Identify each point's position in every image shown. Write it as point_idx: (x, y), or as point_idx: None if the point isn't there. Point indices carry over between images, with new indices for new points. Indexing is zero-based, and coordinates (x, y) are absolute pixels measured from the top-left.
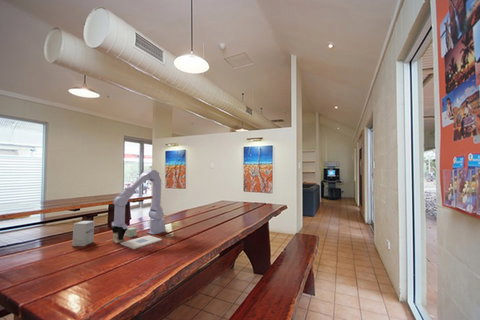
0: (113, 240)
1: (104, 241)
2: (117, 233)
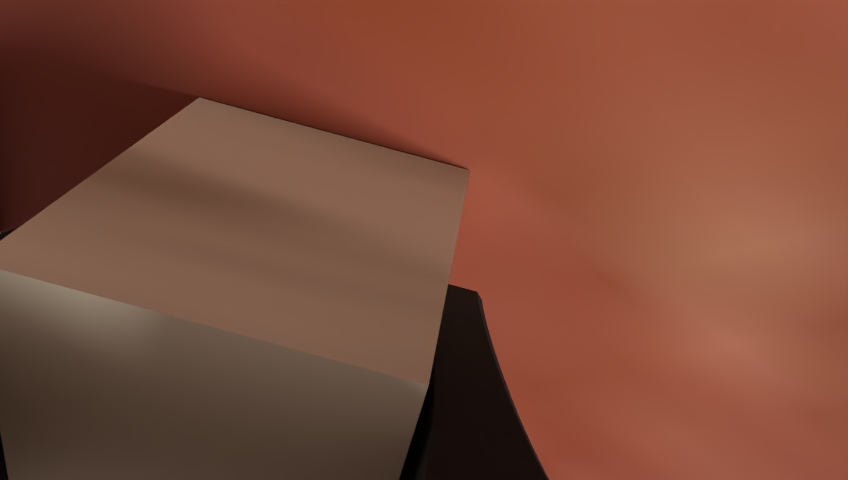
0: (415, 179)
1: (828, 86)
2: (164, 405)
